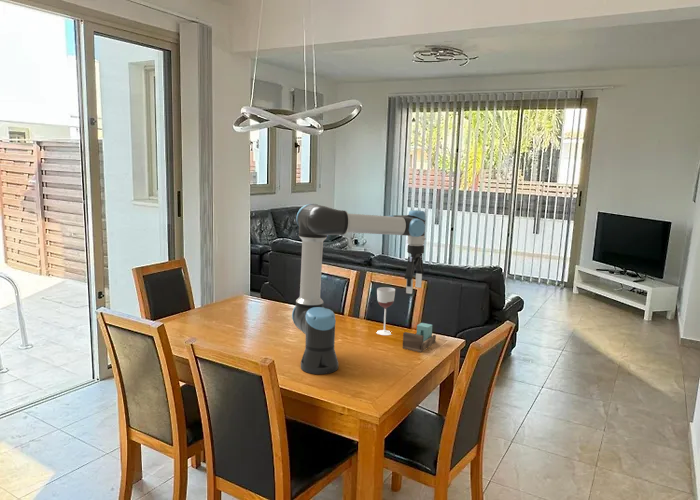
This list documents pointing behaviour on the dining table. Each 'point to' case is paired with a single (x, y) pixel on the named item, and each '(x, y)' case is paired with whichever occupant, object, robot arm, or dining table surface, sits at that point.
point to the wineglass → (385, 303)
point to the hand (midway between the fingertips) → (413, 290)
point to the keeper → (424, 330)
